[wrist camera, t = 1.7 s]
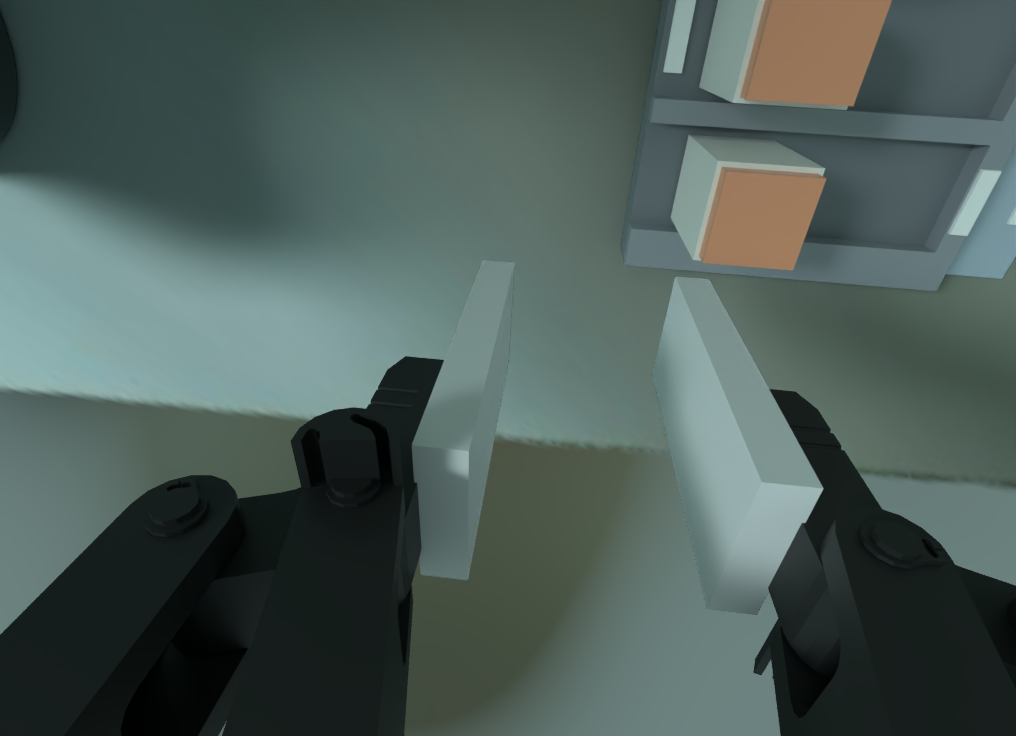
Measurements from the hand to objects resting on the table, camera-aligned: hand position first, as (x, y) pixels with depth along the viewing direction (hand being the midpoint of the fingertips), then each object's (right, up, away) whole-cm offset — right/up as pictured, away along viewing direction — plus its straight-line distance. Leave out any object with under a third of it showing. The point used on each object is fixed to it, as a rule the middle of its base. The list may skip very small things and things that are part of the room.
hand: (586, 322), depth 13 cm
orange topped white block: (+9, +8, +13) cm, 18 cm away
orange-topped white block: (+9, +13, +10) cm, 19 cm away
